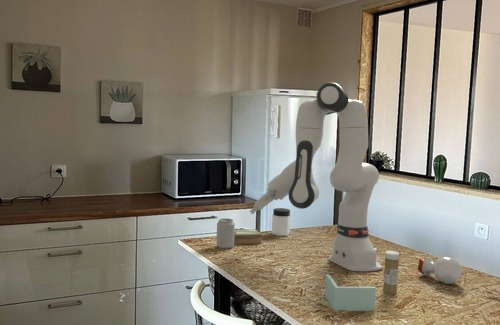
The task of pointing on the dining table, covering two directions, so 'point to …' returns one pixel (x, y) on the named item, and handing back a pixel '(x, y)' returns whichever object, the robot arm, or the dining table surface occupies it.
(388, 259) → the sprinkles bottle
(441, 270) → the potion bottle
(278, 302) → the dining table surface
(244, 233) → the picture frame
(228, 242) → the can
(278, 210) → the jar
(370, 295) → the right angle wall
